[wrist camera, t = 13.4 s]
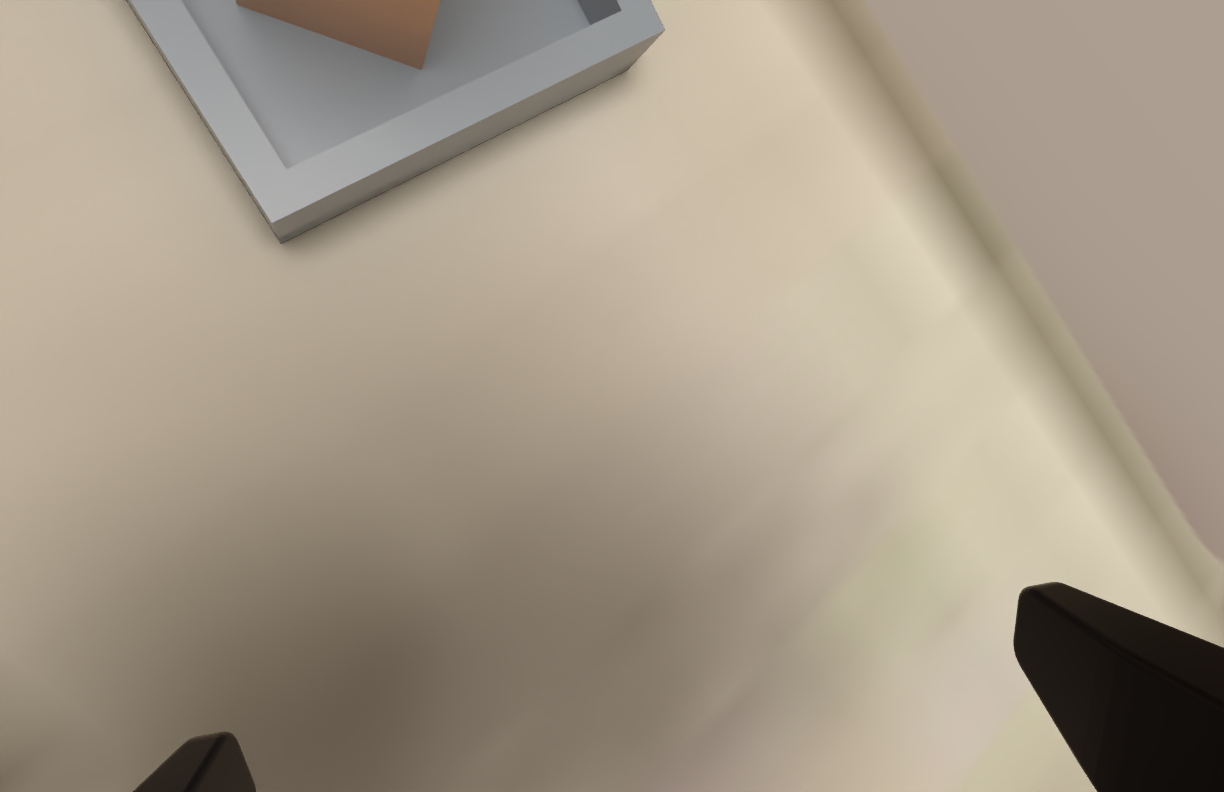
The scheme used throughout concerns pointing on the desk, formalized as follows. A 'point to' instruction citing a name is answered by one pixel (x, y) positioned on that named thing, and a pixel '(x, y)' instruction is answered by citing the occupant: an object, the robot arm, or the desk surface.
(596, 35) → the tray
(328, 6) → the plug
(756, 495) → the desk surface
